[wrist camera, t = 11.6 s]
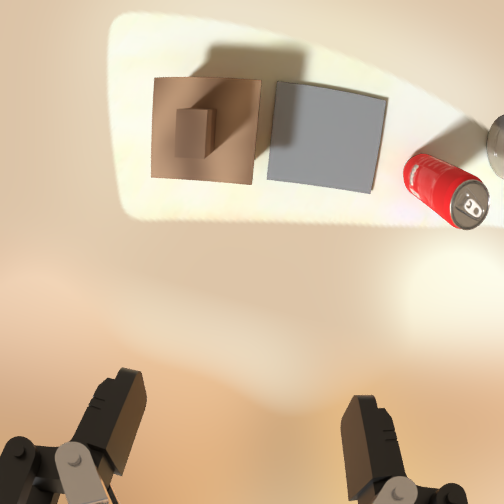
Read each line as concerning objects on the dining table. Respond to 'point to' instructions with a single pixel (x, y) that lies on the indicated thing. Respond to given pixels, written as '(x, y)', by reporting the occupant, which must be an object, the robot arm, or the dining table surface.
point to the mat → (325, 137)
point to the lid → (204, 128)
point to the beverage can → (447, 190)
